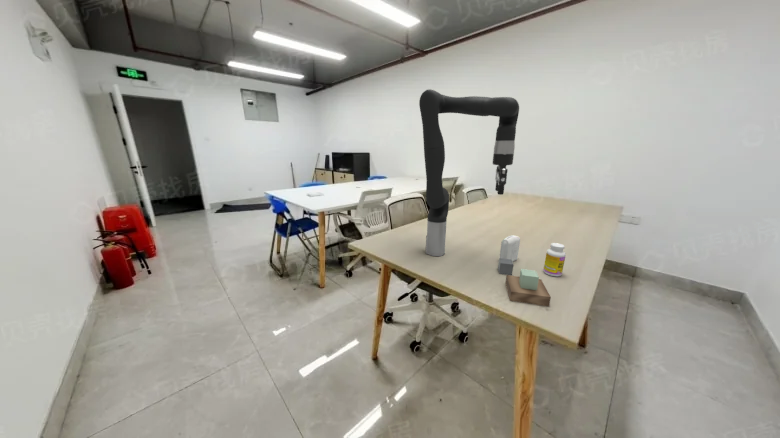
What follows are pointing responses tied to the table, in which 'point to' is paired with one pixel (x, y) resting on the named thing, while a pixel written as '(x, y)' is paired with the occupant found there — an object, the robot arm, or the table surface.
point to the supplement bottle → (554, 260)
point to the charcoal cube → (505, 266)
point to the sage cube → (528, 279)
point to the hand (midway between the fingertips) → (499, 192)
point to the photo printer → (510, 247)
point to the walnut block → (527, 292)
